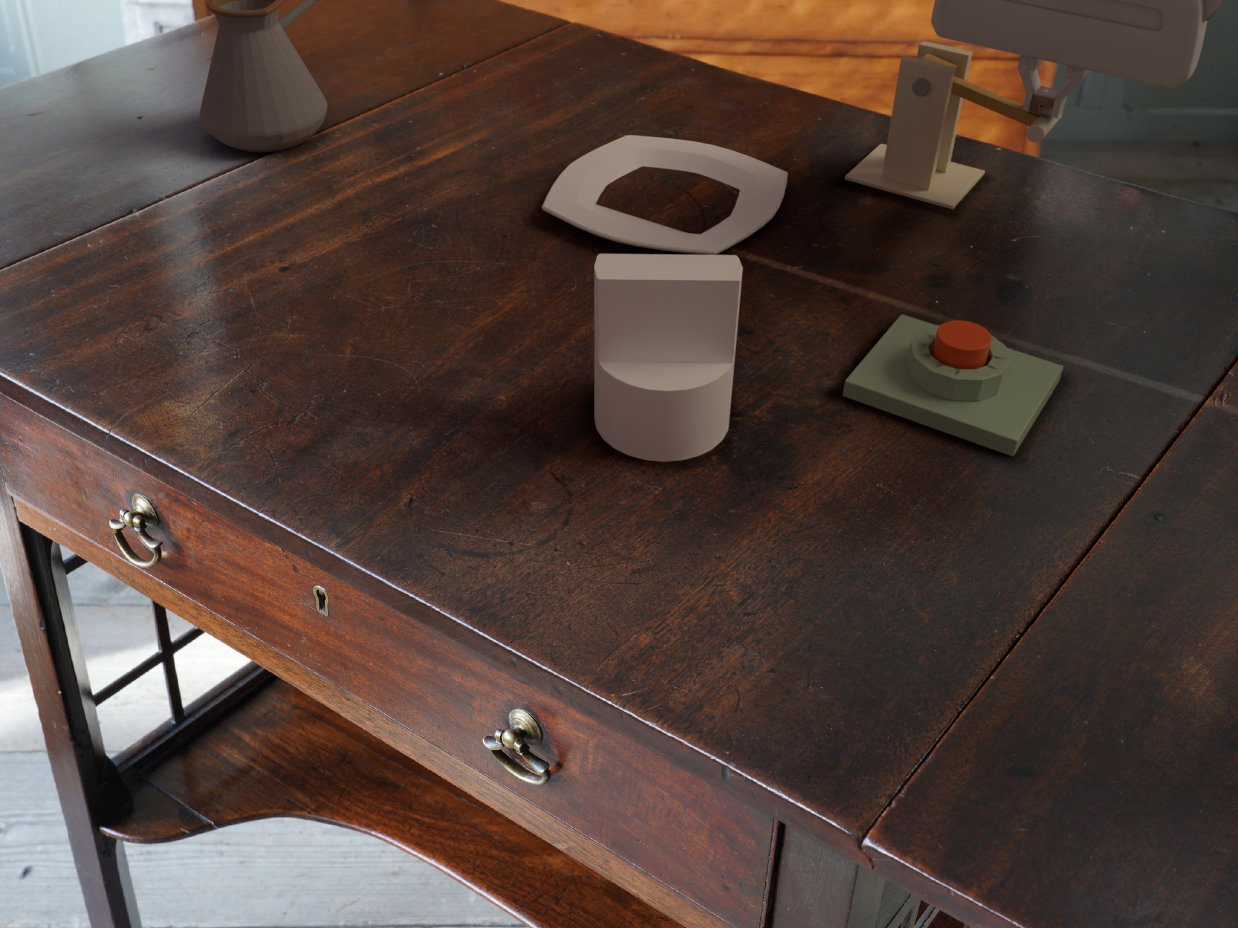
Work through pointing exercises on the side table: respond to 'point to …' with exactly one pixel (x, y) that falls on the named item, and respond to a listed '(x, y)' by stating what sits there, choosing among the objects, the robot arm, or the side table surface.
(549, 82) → the side table surface
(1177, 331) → the side table surface
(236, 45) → the coffee pot
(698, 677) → the side table surface
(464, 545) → the side table surface
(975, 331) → the lamp button
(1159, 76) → the robot arm
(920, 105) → the bracket
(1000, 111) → the lever handle
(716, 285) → the cylinder with rectangular tab
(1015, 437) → the button housing
